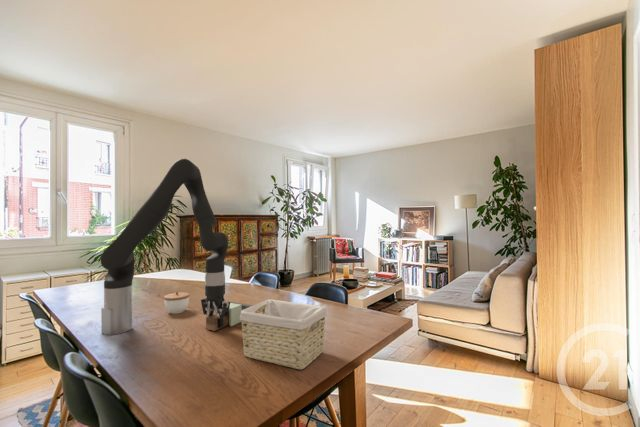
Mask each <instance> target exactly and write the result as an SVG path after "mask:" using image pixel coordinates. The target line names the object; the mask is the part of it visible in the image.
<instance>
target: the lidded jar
mask: <svg viewBox="0 0 640 427" xmlns="http://www.w3.org/2000/svg"><path fill="white" fill-rule="evenodd" d="M163 299H164V300H163V301H164V302H163V303H164V307H165V309H166V311H167V312H169V314H171V315H177V314H181V313H184V312H185V310H186V309H187V308H188V305H189V302H190V293H188V292H186V291H185V292H183V291H182V292H179V291H175V292H173V293H169V294H165V295H164V296H163Z"/></svg>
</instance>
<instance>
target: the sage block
mask: <svg viewBox="0 0 640 427" xmlns="http://www.w3.org/2000/svg"><path fill="white" fill-rule="evenodd" d="M220 309H221V308H220ZM220 309H218V310H220ZM241 311H242V305H240V304H234V303H230V307H229V327H234V326H235V325H237V324H240V323H242V322H241V320H240V315H241ZM215 314H217V313H215Z"/></svg>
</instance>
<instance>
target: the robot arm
mask: <svg viewBox="0 0 640 427" xmlns="http://www.w3.org/2000/svg"><path fill="white" fill-rule="evenodd" d="M202 177H203V176H202V174H201V170H200V168H199V167H198V166H197V165H195V163H194V162H192V161H191V160H190V159H187V158H180V159H178V160H176V161H175V162H173V164H172V165H171V166H170V168H169V170H168V171H167V173H166V174H165V176H164V177H163V179H162V180H161V182H160V183H159V184H158V186H157V187H156V188H155V189H154V190H153V192H152V193H151V195H150V196H149V197H148V198H147V199H146V200H145V202H144V203H143V204H142V205H141V207H140V208H139V209H138V210H137V212H136V213H135V214H134V216H132V218H131V220H130V221H129V222H128V223H127V225H126V226H125V227H124V229H123V231H122V232H121V233H120V234H119V235H118V236H117V237H116V238H115V239H114V240H113V241H112V243H110V244H109V245H108V246H107V247H106V248H105V249H104V250H103V252H102V254H101V255H100V264H101V266H102V267H103V268H104V269H105V270H107V275H106V277H105V279H104V281H103V307H101V312H100V314H101V317H100V318H101V333H102V334H105V335H108V336H113V335H117V334H119V335H120V334H123V333H126V332H128V331H131V329H133V280H134V275H135V252H134V251H135V249H136V248H137V247H138V245H139V244H140V243H141V242H142V241H143V240H145V239H146V237H148V236H149V235H150V234H151V233H152V232H153V231H155V229H157V227H159V225H160V224H161V223H162V222H163V220H165V218H166V217H167V215H168V214H169V212H170V209H171V206H172V203H173V200H174V197H175V195H176V193H177V192H178V190H179V189H180V188H181V187H182V185H184V187H185V189H186V190H187V192H188V194H189V196H190V199H191V207H192V213H193V216H194V219H195V221H196V223H197V225H198V232H199V233H198V234H199V241H200V245H201V247H202V249H204V250H205V251H208V252H212V253H211V255H210V256H208V257H206V259H205V276H204V295H205V298H202V299H200V302H201V303H200V304H201V308H202V312H203V315H206V317H208V316H211V315H214V314H216V313H217V318H218V319H217V328H220V329H222V328H224V327H223V318H224V317H226V316H228V312H229V307H230V302H231V301H226V300H225V294H226V274H225V260H226V256H227V252H228V246H229V238H228V236H227V234H226V233H224V232H222V231H217V232H216V231H215V232H214V231H213V228H214V227H216V226H217V219H216V217H215V215H214V212H213V209H212V207H211V204H210V202H209V200H208V197H207V193H206V190H205V187H204V183H203V178H202ZM220 308H221V309H220ZM218 309H220V310H218ZM220 312H221V315H220Z"/></svg>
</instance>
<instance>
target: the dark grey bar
mask: <svg viewBox="0 0 640 427" xmlns="http://www.w3.org/2000/svg"><path fill="white" fill-rule="evenodd" d="M229 302H230V303H234V304H240V305H242V310H244V309H246V308H248V307H251V306H253V305H254V304H253V305H252V304H247V303H246V304H245V303H241V302H232V301H229Z"/></svg>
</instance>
